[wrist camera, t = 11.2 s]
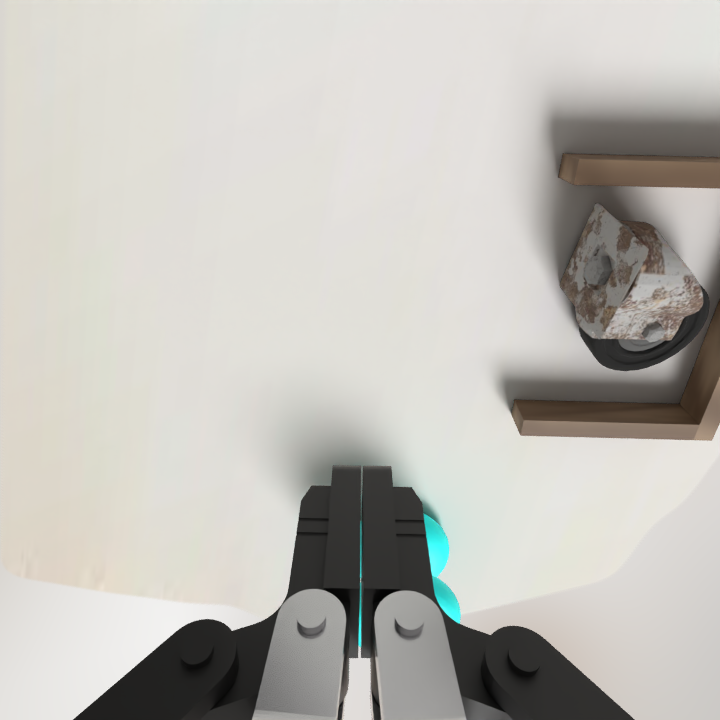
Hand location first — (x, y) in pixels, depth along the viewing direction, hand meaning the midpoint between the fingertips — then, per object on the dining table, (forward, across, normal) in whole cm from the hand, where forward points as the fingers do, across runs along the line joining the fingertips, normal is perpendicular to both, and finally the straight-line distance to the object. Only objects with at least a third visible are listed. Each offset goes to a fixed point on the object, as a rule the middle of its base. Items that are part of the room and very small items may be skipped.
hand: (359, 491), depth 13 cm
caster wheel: (+27, -20, +4) cm, 34 cm away
